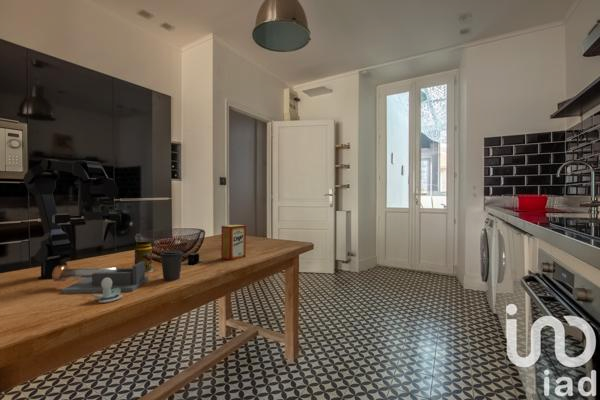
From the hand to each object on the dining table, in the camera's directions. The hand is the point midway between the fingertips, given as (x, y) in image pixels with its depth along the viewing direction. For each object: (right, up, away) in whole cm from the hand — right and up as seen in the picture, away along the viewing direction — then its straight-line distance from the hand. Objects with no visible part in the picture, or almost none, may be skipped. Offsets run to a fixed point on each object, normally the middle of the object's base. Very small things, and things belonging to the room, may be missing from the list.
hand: (88, 242), depth 101 cm
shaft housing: (+10, -14, -5) cm, 18 cm away
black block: (+26, -14, +29) cm, 42 cm away
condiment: (+10, -14, +14) cm, 22 cm away
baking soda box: (+41, -14, +41) cm, 59 cm away
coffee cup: (+27, -14, +4) cm, 31 cm away
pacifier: (+18, -14, -17) cm, 29 cm away
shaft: (+4, -12, -6) cm, 14 cm away
